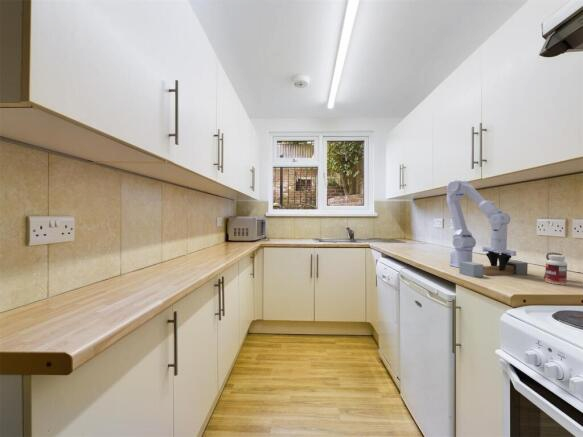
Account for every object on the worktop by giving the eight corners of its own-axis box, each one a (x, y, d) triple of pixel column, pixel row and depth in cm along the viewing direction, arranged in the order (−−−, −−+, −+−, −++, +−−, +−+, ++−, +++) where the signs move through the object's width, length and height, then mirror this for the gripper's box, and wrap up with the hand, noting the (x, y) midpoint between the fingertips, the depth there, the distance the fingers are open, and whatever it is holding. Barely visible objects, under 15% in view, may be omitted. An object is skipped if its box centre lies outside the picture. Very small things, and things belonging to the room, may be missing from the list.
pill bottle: (540, 281, 114) (541, 254, 114) (556, 281, 114) (557, 254, 114) (554, 285, 108) (555, 256, 108) (571, 285, 108) (572, 256, 108)
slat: (478, 274, 127) (478, 266, 127) (507, 272, 131) (507, 265, 131) (485, 275, 124) (485, 267, 124) (513, 274, 128) (514, 266, 128)
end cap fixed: (502, 271, 133) (502, 260, 133) (511, 271, 134) (511, 260, 134) (518, 274, 126) (518, 263, 126) (527, 274, 127) (527, 262, 127)
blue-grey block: (459, 273, 127) (459, 261, 127) (468, 272, 129) (468, 261, 128) (473, 277, 120) (473, 264, 120) (482, 276, 121) (483, 264, 121)
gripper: (477, 238, 134) (476, 266, 134) (507, 241, 119) (506, 273, 120) (489, 238, 135) (488, 266, 135) (520, 241, 121) (519, 272, 121)
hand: (498, 269), depth 128 cm, fingers closed on slat, 3 cm apart
